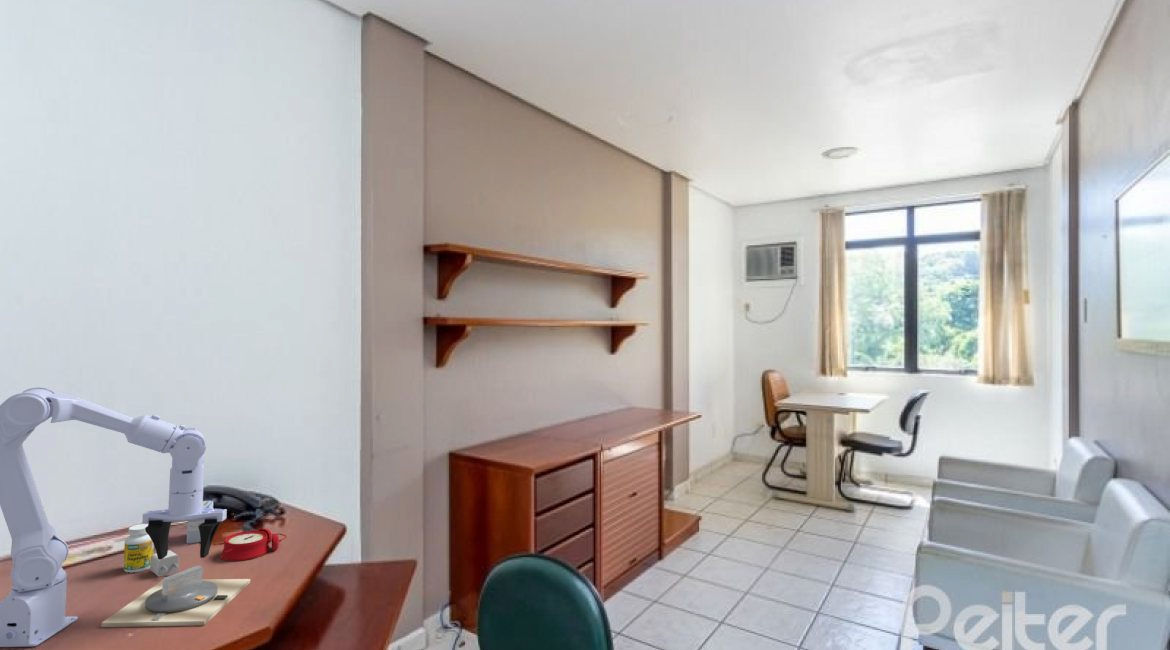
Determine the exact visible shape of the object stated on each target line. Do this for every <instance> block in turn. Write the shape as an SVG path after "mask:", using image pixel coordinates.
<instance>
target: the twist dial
mask: <svg viewBox="0 0 1170 650" xmlns="http://www.w3.org/2000/svg"><path fill="white" fill-rule="evenodd" d="M203 571H204V567H203V566H202V565H195V566H194V565H193V566H192V567H189V568H187V569H184V570H182V571H179V572H175V573H173V574H170V575H169V576H168V575H167V576H166V577H163V578H162V580H163V588H162V589H160V590H158V591H156V592H154V593H152V594H151V595H150V596H148V597H147V599H146V601H145V608H146V609H147V610H149V611H151V612H157V613H170V612H177V611H183V610H187V609H191V608H194V607H197V606H200V605H202V604H204V603H206V602H208V601H210V600H211V599H213V598H214V597H215V596H216V594H217V592H218V587H217V585H216V584H215V583H212V582H208V581H202V579H203V575H204V572H203Z"/></svg>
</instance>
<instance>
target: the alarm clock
mask: <svg viewBox="0 0 1170 650" xmlns="http://www.w3.org/2000/svg"><path fill="white" fill-rule="evenodd" d="M279 535H281V536H283V537H284V538H281V539H279ZM285 539H287V536H286V535H285V534H283V533H272V531H271V530H270V529H268V528H261V529H259V530H249V531H248V530H247V531H246V530H245V531H241V532H237V533H234V534H231V535H228V536H227V537H225V539H224V541H223V542H221V543H220V542H219V543H213V546H216V545H219V546H220V545H223V549H222V551H221V552H220V557H219V560H225V561H233V562H234V561H237V562H238V561H247V560H251V559H256V558H259V557H261V556H262V557H263V556H264V555H265V554H267V553H268V552H269V551H270V545H269V544H270V543H271V549H272V552H276V551H277V550H278V548H279V543H281V542H282V541H283V540H285Z"/></svg>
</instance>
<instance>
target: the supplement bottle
mask: <svg viewBox="0 0 1170 650" xmlns="http://www.w3.org/2000/svg"><path fill="white" fill-rule="evenodd" d="M148 524H149V523H141V524H135V525H132V526H130V527H129V528H128V537H126V538H125V539H124V547H123V548H124V549H123V550H124V551H123V552H124V555H123V571H124V572H126V573H128V572H129V574H131V573H132V574H133V573H134V572H135V573H140V572H144V571H147V570H149V569H150V567H151V556H152V555H153V554H155V553H154V552H155V551H154V550H155V546H154V544H153V542H152V540H151V538H150V537H149V535H148V534H147V533H146V531H145V528H146V527H147V526H148ZM135 573H134V574H135Z"/></svg>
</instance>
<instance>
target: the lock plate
mask: <svg viewBox="0 0 1170 650" xmlns="http://www.w3.org/2000/svg"><path fill="white" fill-rule="evenodd" d="M202 581H208V582H212V583H215V584H216V585H217V587H218V592H217V594H216V596H215V597H214V598H213V599H211V600H210V601H208V602H206V603H204V604H202V605H200V606H197V607H194V608H191V609H187V610H183V611H177V612H170V613H157V612H151V611H149V610H147V609H146V608H145V601H146V599H147V597H148V596H150V595H151V594H152V593H154V592H156V591H158V590H160V589H162V588H163V579H162V580H161V581H159V582H158V583H156V584H155V585H154V586H152V587H150V588H149V589H147V591H145V592H143V593H142V594H141V595H139V596H138V597H136V598H135V599H133V600H132V601H131V602H129V603H128V604H126V605H125V606H124V607H122V608H121V609H119V610H118V611H116V612H114V613H113V614H112V615H111V616H109V617H108V618H106V619H105V620H103V621H102V622H101V625H100V626H101V628H120V627H124V628H125V627H126V628H128V627H129V628H130V627H131V628H133V627H134V628H135V627H177V626H178V627H179V626H181V627H182V626H184V627H185V626H187V627H189V626H205V625H206V624H207V623H208V622H209V621H211V620H212V619H213V618H214V617H215V616H216V615H217V614H218V613H219V612H220V611H222V610H223V609H224V608H225V607H226V606H227V605H228V604H229V603H230V602H231V601H232V600H234V598H235V597H237V595H239V594H240V593H241V592H242V591H244V589H246V587H247V586H248V585H249V584H250V583H251V578H228V579H227V578H223V579H222V578H220V579H219V578H215V579H213V578H212V579H210V578H208V579H205V578H204V579H202Z"/></svg>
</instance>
